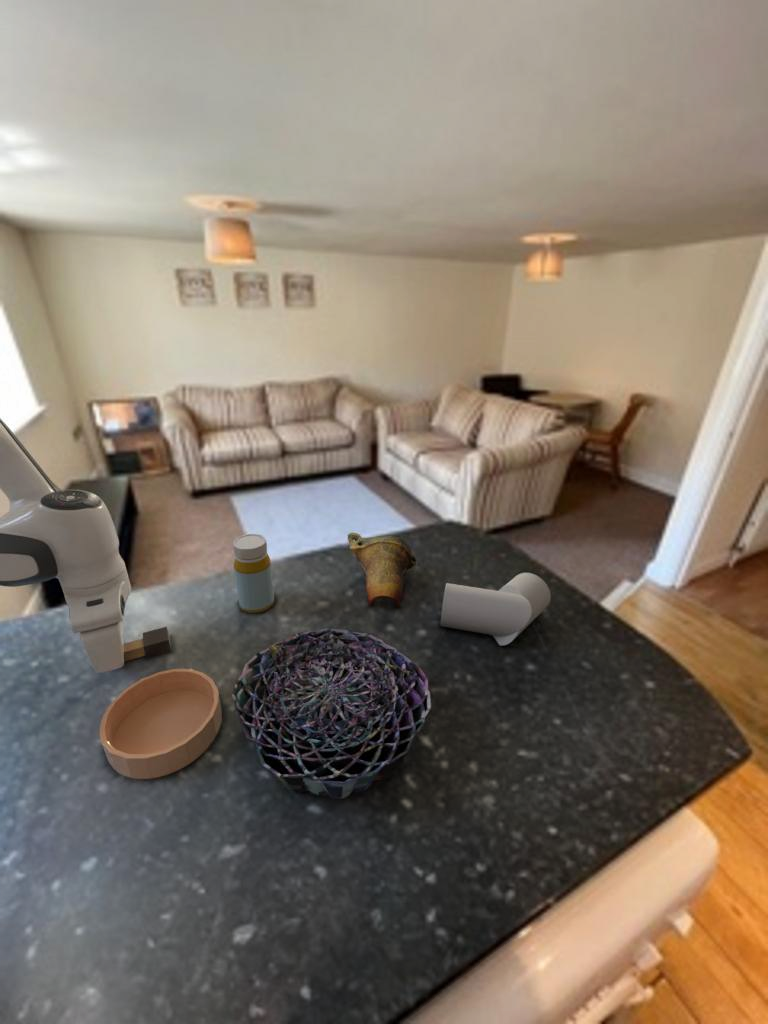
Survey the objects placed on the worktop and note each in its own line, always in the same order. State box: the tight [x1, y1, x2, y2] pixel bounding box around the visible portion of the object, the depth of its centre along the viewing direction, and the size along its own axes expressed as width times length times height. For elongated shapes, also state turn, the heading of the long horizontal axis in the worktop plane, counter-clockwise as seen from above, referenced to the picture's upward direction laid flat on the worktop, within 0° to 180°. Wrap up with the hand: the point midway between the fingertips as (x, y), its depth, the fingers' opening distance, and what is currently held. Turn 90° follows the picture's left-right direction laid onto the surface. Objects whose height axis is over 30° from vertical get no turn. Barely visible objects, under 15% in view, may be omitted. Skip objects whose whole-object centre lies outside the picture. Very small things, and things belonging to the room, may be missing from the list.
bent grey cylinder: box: [440, 572, 552, 646], centre depth 87 cm, size 18×11×20 cm
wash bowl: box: [98, 668, 223, 780], centre depth 64 cm, size 15×15×4 cm
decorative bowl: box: [231, 627, 432, 800], centre depth 64 cm, size 26×28×10 cm
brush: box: [124, 626, 172, 662], centre depth 78 cm, size 10×4×3 cm, turn 118°
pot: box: [347, 532, 418, 608], centre depth 98 cm, size 17×11×18 cm
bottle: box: [232, 533, 275, 614], centre depth 89 cm, size 7×7×15 cm
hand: (118, 654), depth 77 cm, fingers closed on brush, 2 cm apart
